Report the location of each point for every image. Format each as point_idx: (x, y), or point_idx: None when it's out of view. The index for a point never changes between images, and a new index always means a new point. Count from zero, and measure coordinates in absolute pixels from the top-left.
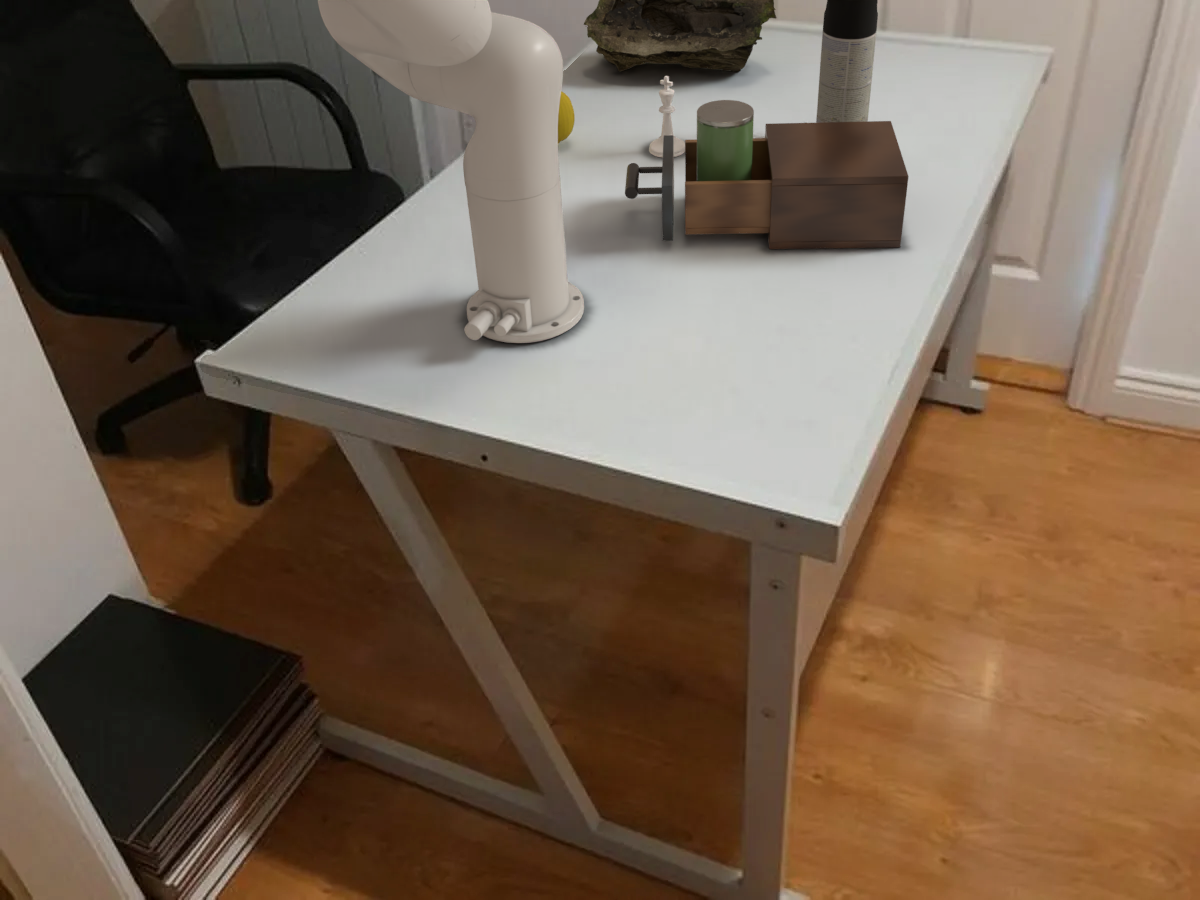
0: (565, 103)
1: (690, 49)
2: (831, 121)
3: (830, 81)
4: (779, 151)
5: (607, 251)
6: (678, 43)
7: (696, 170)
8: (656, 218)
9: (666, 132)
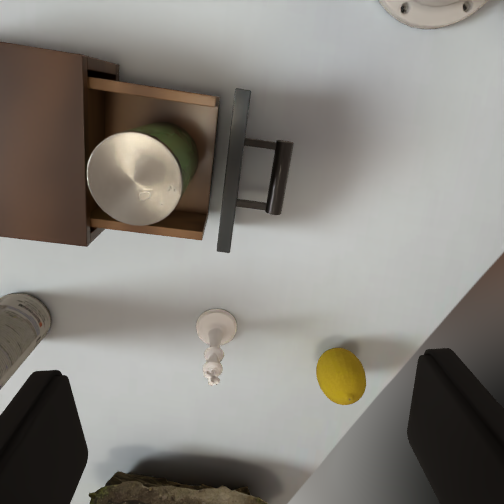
0: (332, 378)
1: (172, 489)
2: (17, 315)
3: None
4: (69, 151)
5: (314, 97)
6: (185, 499)
7: (192, 217)
8: (246, 170)
9: (216, 334)
